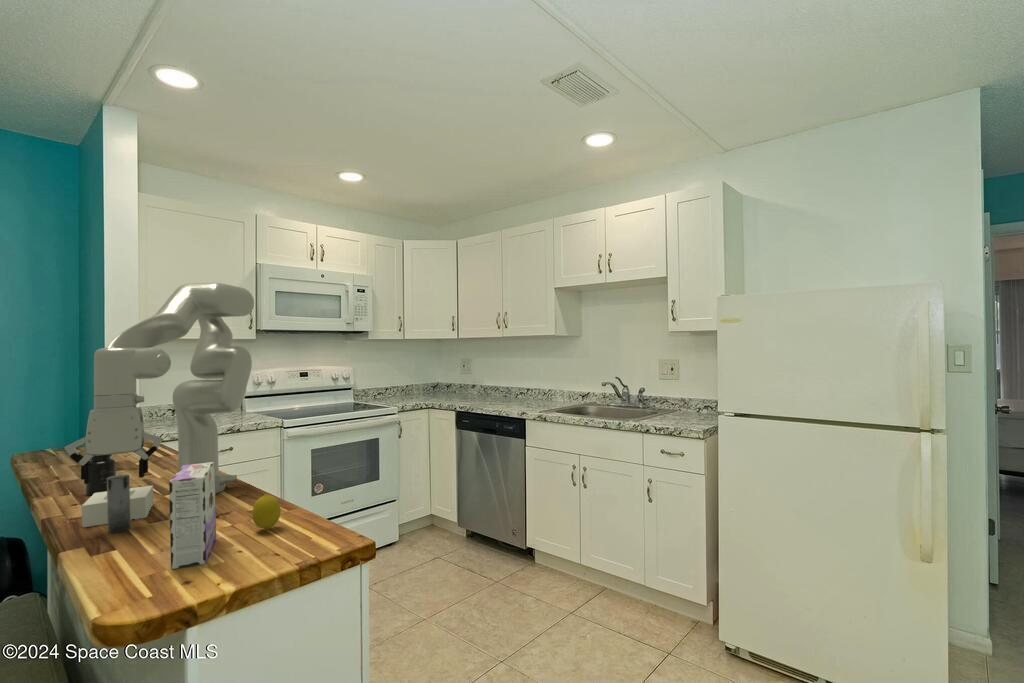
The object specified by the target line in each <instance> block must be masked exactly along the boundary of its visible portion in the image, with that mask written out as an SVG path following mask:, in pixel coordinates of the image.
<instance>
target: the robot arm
mask: <svg viewBox="0 0 1024 683" xmlns="http://www.w3.org/2000/svg"><path fill="white" fill-rule="evenodd" d="M254 307H255V300H254V295H252V292H250V290H248V289H246V288H245V287H240V286H235V285H231V284H226V283H221V282H195V283H194V282H192V283H184V284H182V285H180V286H178V287H177V288H176V289H175V290H174V291H173V293H171V295H170V296H169V297H168V298H167V300H166V301H165V302H164V304H163V305H162V306H161V307H160V308H159V309H158V311H157V312H156V313H155V314H154V315H152V316H151V317H148V318H146V319H144V320H142V321H140V322H138V323H136V324H134V325H132V326H130V327H129V328H127V329H125V330H124V331H122V332H120V333H119V334H118V335H117V336H116V337H114V338H113V340H111V342H110V343H109V344H108V345H107V347H102V348H98V349H96V350H95V352H94V354H93V392H94V393H93V409H91V410H89V413H88V417H87V424H86V433H85V436H84V437H82V438H79V439H78V440H75V441H74V442H72V443H70V444H67V445H65V446H64V450H65V452H66V453H67V454H68V455H69V457H70V459H71V460H73V461H74V462H76V463H77V464H78V465H79V466H80V480H83V484H84V485H86V484H88V483H89V482H91V481H92V464H91V463H90V461H91V459H92V458H93V457H94V456H97V455H109V454H112V455H117V454H118V455H119V454H128V453H135V454H136V455H137V456H139V457H140V459H139V461H138V478H140V479H143V478H144V477H145V476H146V474H148V473H149V458H150V456H152V455H153V454H154V453H155V452H157V450H158V448H159V447H160V445H161V443H162V442H163V441H164V440H163V437H161V436H158V435H155V434H153V433H149V432H146V431H145V427H144V426H145V424H144V419H143V418H144V416H143V411H142V408H141V406H137V405H138V404H139V403H145V396H144V395H143V396H141V395H139V394H138V393H137V380H149V379H158V378H160V377H162V376H165V375H166V374H167V373H168V372H169V370H170V368H171V364H172V362H171V361H172V360H171V357H170V355H169V354H168V353H167V352H166V351H164V350H163V349H161V348H158V347H156V346H160V345H162V344H167V343H170V342H174V341H176V340H179V339H181V338H183V337H185V336H186V335H187V334H188V333H189V332H190V330H191V329H192V327H193V326H194V325H195V323H196V322H198V325H199V327H200V328H199V329H200V334H199V338H198V340H197V342H196V343H197V344H196V347H195V349H194V351H193V352H194V353H193V355H192V358H191V361H190V365H189V366H190V368H189V370H190V373H191V375H193V376H194V377H196V378H198V379H191V380H187V381H184V382H181V383H180V384H178V385H176V387H175V388H174V389H173V392H172V404H173V408H174V412H175V416H176V417H175V418H176V422H177V444H178V445H177V447H178V448H177V449H178V450H177V451H178V453H177V454H178V471H179V470H180V469H181V468H182V466H183V465H190V464H199V463H208V462H214V475H215V495H216V494H218V493H221V492H223V491H225V490H226V483H236V482H237V481H238V479H237V478H238V475H237V474H227V475H223V474H221V471H219V470H220V469H219V468H220V467H219V464H220V463H219V433H218V432H219V431H218V426H217V423H216V421H215V419H214V418H213V417H212V415H211V414H231V413H233V412H236V411H237V410H238V409H239V408H240V407H241V406H242V403H243V401H244V397H245V394H246V391H247V387H248V383H249V380H250V375H251V372H252V367H253V366H252V365H253V364H252V363H253V361H252V356H251V353H250V351H249V350H248V349H247V348H246V347H243V346H239V345H232V342H233V336H234V335H233V333H232V330H231V329H230V327H229V325H227V323H226V322H225V321H224V319H223V318H226V317H227V318H229V317H233V318H234V317H246V316H248V315H249V314H251V313H252V311H253V310H254ZM145 440H147V441H151V442H152V445H151V447H150V448H148V450H146V449H145V448H144V446H145ZM82 445H84V447H85V448H84V449H85V453H86V454H84V456H83V454H81V453H79V452H78V451H77V447H80V446H82Z"/></svg>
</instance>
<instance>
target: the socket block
mask: <svg viewBox="0 0 1024 683" xmlns="http://www.w3.org/2000/svg"><path fill="white" fill-rule="evenodd" d="M153 506H154V485H147V486H146V485H144V486H139V487H131V488H130V521H133V520H132V519H135V520H140V519H139V518H141V519H147V517H148V515H149V513H150V512H151V510H152V508H153ZM151 507H152V508H151ZM150 509H151V510H150ZM149 511H150V512H149ZM102 525H108V508H107V491H106V492H98V493H94V494H93V495H92V496H90V497H89V498H88V499H87V500H85V502H83V504H81V527H82V528H89V527H95V526H102Z"/></svg>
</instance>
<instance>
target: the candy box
mask: <svg viewBox="0 0 1024 683" xmlns="http://www.w3.org/2000/svg"><path fill="white" fill-rule="evenodd" d="M168 482H169V483H168V484H169V485H168V486H169V490H168V491H169V525H170V526H169V529H170V532H169V534H170V535H169V537H170V546H169V547H170V570H174V569H181V568H189V567H194V566H201V565H202V566H203V565H205V564H207V562H208V559H209V556H210V555H211V552H212V550H213V548H214V544H215V541H216V539H217V516H216V515H217V514H216V513H217V512H216V494H215V475H214V462H208V463H199V464H190V465H183V466H182V468H181V469H180V470H179V469H178V471H177V472H176V473H175V474H174V475H173V476H172V478H171V479H170V480H169V481H168Z"/></svg>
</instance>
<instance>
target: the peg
mask: <svg viewBox="0 0 1024 683" xmlns="http://www.w3.org/2000/svg"><path fill="white" fill-rule="evenodd" d="M107 508H108V524H107V533H108V534H112V535H113V534H120V533H123V532H127V531H130V530H131V528H132V527H131V520H130V474H128V473H126V474H118V475H117V474H116V476H111V477H108V478H107Z"/></svg>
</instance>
